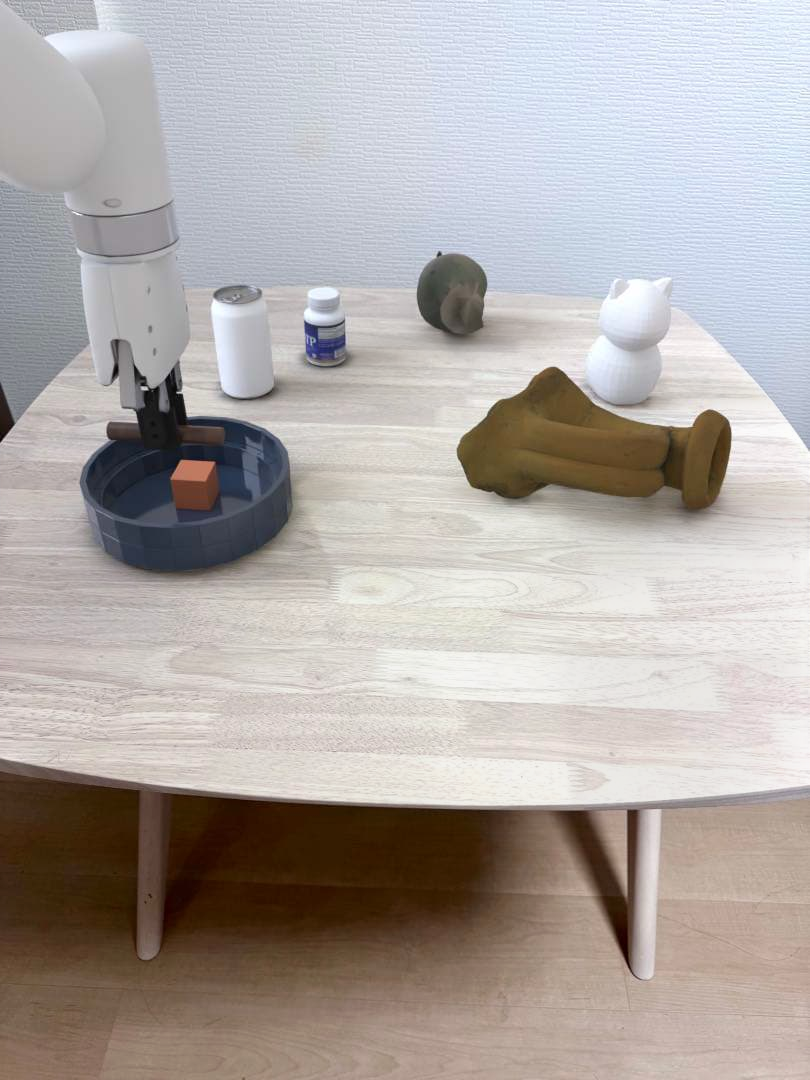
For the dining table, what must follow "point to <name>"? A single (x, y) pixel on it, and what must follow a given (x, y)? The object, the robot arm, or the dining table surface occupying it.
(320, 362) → the pill bottle
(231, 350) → the can
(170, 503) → the bowl
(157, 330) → the robot arm
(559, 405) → the brown looped sculpture
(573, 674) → the dining table surface
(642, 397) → the cat figurine
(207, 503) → the block
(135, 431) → the stick
